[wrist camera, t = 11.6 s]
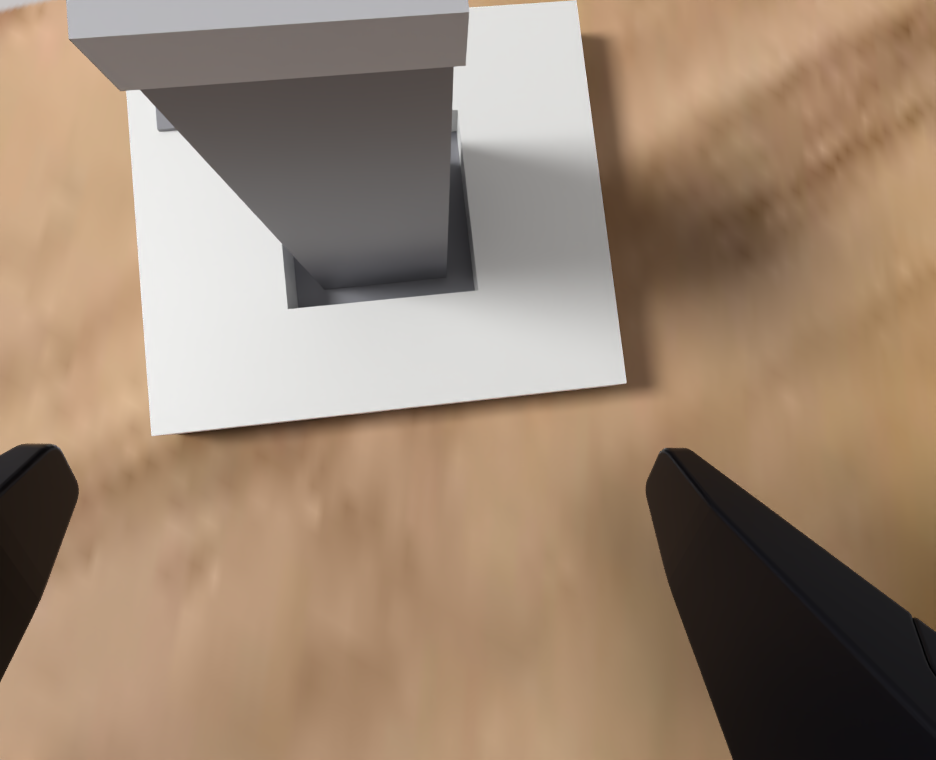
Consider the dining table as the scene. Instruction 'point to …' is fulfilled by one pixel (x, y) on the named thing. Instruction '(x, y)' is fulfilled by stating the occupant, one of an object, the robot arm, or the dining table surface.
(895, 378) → the dining table surface
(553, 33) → the socket plate
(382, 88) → the plug
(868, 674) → the robot arm
